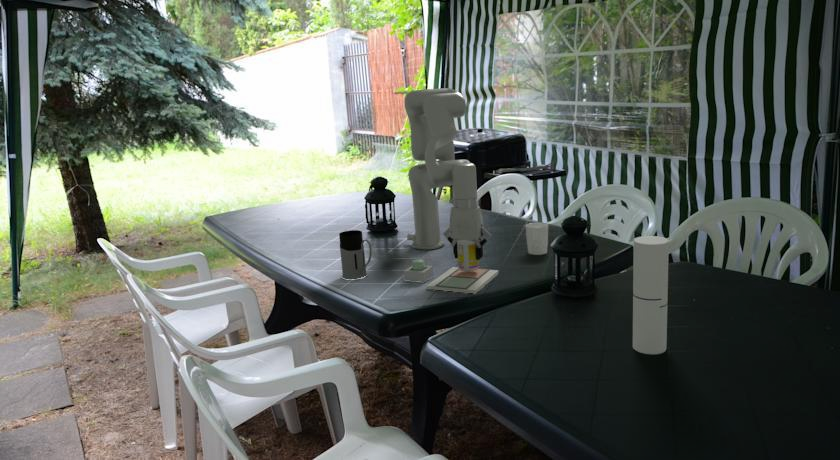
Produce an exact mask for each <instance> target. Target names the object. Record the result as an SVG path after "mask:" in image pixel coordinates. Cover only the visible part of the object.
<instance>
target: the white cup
mask: <svg viewBox="0 0 840 460" xmlns="http://www.w3.org/2000/svg"><path fill="white" fill-rule="evenodd" d="M525 235H526V237H525V238H526V246H527V253H528V254H529V255H535V256H542V255H545V254H547V253H548V244H549V224H548V223H546V222H530V223H526V224H525Z"/></svg>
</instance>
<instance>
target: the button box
mask: <svg viewBox="0 0 840 460" xmlns="http://www.w3.org/2000/svg"><path fill="white" fill-rule="evenodd" d="M434 272H435V271H434V266H433V265H425V269H424V270H423V271H415V270H412V265H411V266H409V267H408V268H406V269H405V270H403V275H404V276H403V277H404V281H405V280H410V281H421V282H424V281H426V280H427V279H429V278H431V277H432V276H435V275H434ZM432 278H433V277H432ZM432 278H431V279H432ZM429 280H430V279H429Z"/></svg>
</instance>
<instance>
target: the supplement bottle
mask: <svg viewBox="0 0 840 460" xmlns="http://www.w3.org/2000/svg"><path fill="white" fill-rule="evenodd" d="M476 248H477V245H476V243H475V241H474V240H459V239H457V252H458V258H457V263H458V264H457V267H459V269H460V270H462V271H474V270H477V269H478V268H480V259H479V260H477V259H476Z"/></svg>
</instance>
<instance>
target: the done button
mask: <svg viewBox="0 0 840 460" xmlns="http://www.w3.org/2000/svg"><path fill="white" fill-rule="evenodd" d="M411 266H412V270H415V271H423V270H424V269H425V266H426V265H425V260H424V259H414V260H413V259H412V261H411Z"/></svg>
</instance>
